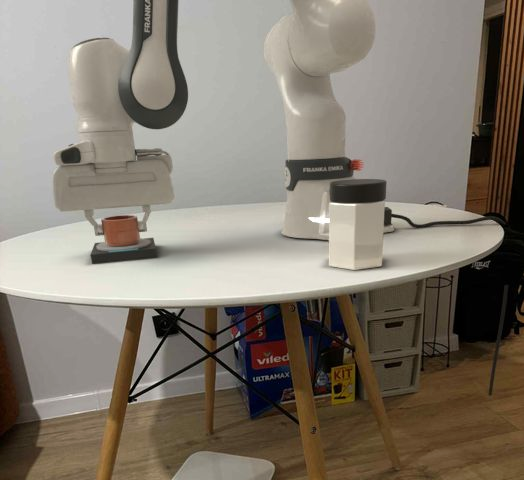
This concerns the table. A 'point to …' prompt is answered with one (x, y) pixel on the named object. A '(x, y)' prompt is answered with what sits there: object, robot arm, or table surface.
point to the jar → (356, 223)
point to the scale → (123, 251)
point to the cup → (121, 230)
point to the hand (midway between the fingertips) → (121, 233)
